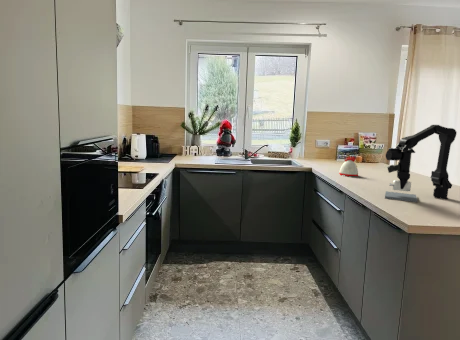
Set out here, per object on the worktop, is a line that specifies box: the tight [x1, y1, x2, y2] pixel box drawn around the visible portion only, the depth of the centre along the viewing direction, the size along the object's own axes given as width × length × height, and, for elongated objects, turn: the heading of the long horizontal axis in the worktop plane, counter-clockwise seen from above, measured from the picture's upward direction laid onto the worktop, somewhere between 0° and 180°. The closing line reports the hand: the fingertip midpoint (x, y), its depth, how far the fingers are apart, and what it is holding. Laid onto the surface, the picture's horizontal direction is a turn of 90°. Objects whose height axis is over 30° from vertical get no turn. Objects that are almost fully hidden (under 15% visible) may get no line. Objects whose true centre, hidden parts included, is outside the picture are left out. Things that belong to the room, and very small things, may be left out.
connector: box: [388, 179, 412, 192], centre depth 204 cm, size 11×4×5 cm, turn 66°
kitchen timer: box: [338, 155, 359, 177], centre depth 281 cm, size 14×14×15 cm
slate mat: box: [384, 191, 418, 203], centre depth 205 cm, size 16×16×1 cm
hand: (401, 188), depth 204 cm, fingers closed on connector, 4 cm apart
